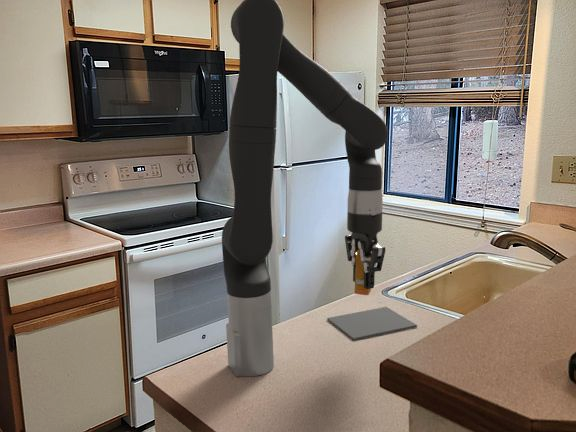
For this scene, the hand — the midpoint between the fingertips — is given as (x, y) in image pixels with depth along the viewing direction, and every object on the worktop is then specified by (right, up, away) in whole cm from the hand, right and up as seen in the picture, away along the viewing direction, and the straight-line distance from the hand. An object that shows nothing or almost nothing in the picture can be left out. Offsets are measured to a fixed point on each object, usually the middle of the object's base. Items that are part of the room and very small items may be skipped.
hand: (363, 284), depth 118 cm
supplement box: (0, -2, 0) cm, 2 cm away
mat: (+4, -12, +17) cm, 22 cm away
